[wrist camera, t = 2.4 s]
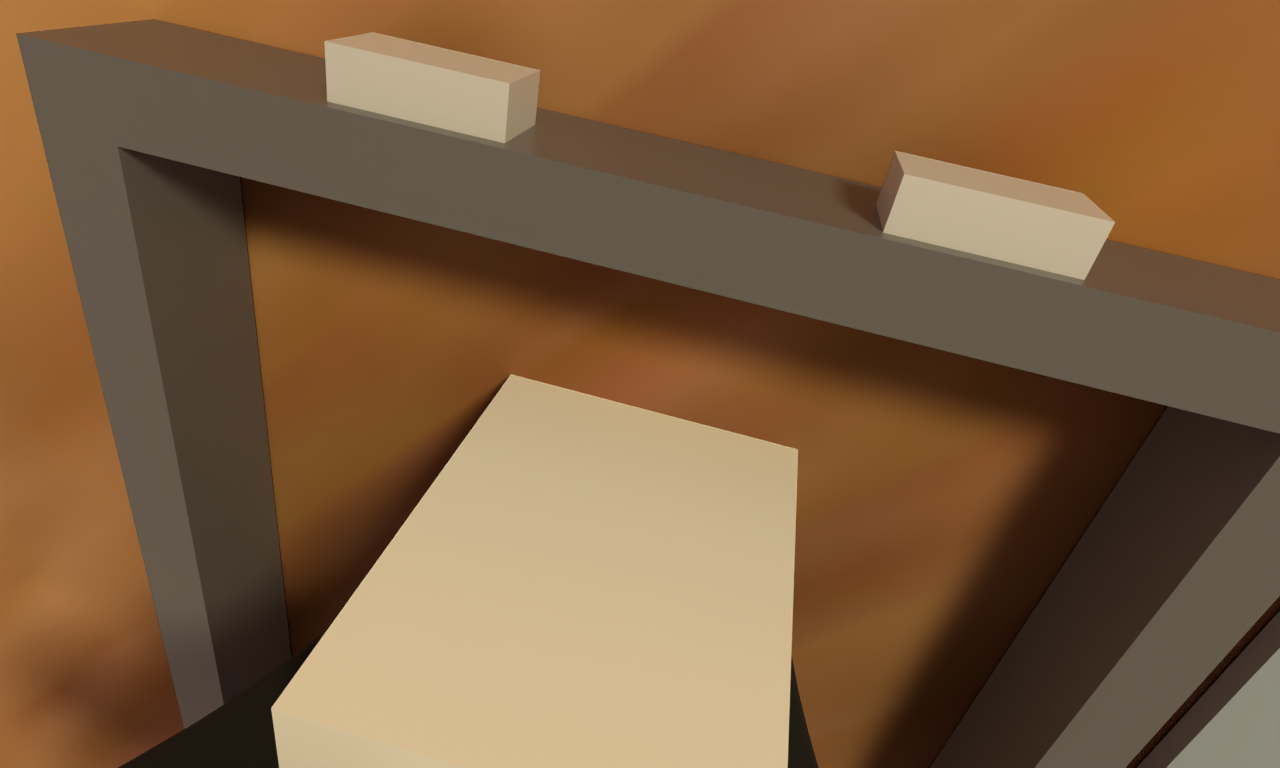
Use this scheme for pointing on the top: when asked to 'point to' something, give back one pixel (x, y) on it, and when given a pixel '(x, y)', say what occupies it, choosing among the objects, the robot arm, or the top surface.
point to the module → (567, 603)
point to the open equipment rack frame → (671, 252)
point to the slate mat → (1232, 715)
